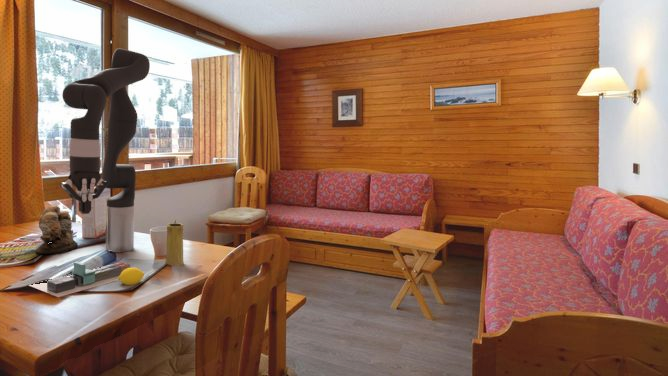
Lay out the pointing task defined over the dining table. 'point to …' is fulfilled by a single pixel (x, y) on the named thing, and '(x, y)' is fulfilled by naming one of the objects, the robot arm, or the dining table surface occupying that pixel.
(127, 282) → the lemon
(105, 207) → the cracker box
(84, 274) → the lock collar
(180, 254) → the green pillar candle
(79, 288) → the mat
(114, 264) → the jaw
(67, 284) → the tongs base
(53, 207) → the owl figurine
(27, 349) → the dining table surface
